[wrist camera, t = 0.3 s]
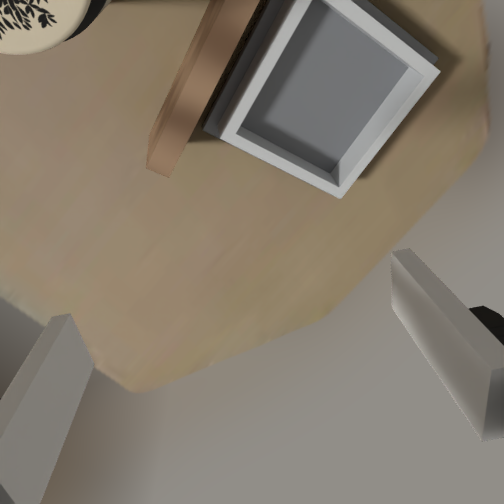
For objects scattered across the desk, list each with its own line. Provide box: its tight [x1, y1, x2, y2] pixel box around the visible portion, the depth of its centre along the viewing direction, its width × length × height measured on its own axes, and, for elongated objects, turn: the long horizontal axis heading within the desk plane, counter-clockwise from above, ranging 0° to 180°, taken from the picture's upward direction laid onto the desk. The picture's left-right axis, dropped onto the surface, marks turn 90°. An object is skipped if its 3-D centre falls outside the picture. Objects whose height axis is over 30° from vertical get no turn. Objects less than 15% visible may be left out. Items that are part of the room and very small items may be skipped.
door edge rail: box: [146, 0, 260, 178], centre depth 31 cm, size 22×2×7 cm, turn 149°
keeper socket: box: [202, 0, 441, 199], centre depth 36 cm, size 16×16×4 cm
